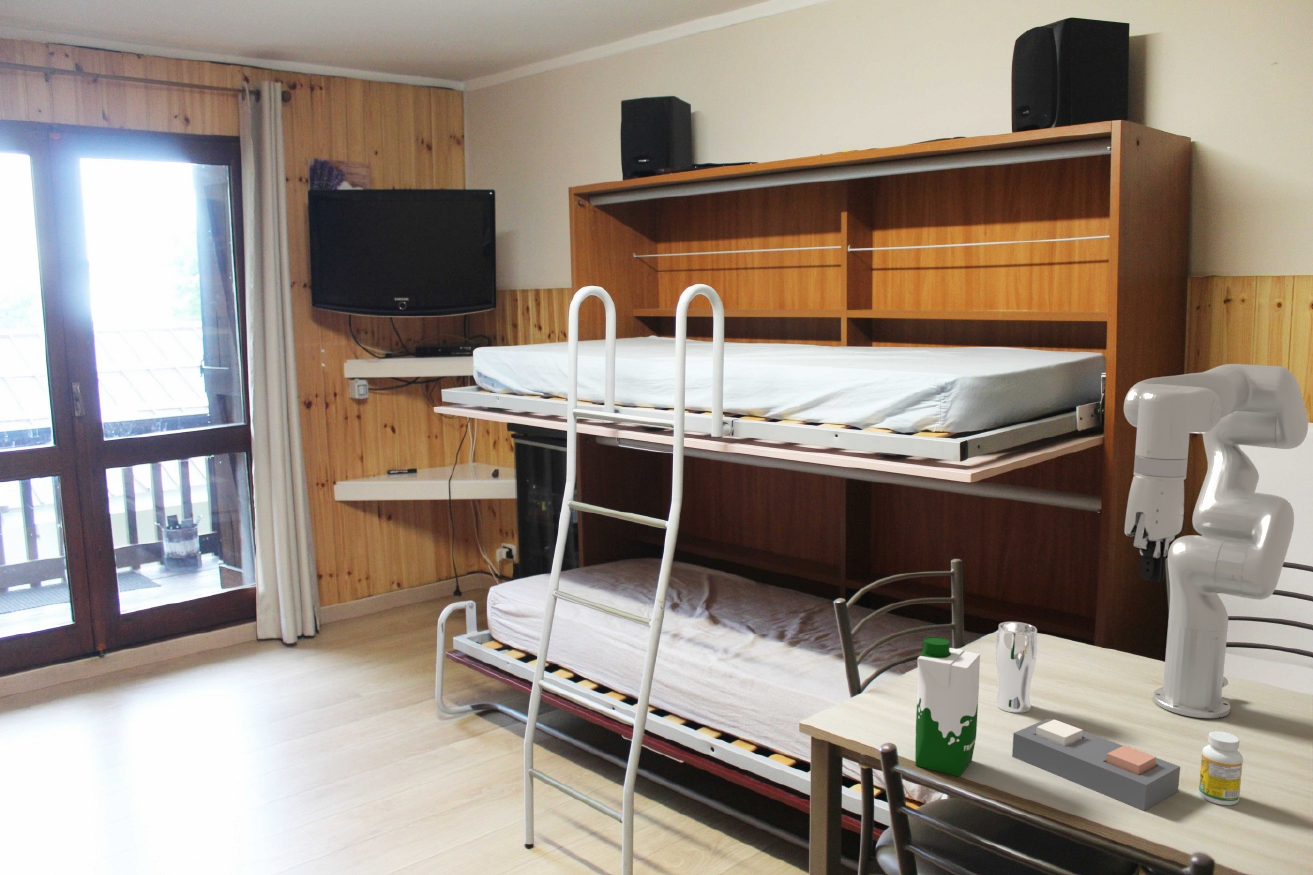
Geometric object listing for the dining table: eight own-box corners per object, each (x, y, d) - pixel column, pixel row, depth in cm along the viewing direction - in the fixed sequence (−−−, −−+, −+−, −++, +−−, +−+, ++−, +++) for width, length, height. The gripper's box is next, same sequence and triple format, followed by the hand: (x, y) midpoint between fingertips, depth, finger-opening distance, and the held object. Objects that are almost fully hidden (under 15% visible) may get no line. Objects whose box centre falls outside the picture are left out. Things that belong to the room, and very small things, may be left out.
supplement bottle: (1234, 810, 150) (1240, 748, 149) (1194, 798, 154) (1199, 737, 153) (1242, 796, 155) (1248, 736, 153) (1203, 785, 158) (1208, 726, 157)
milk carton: (924, 746, 171) (930, 630, 168) (980, 759, 166) (986, 640, 163) (907, 766, 163) (913, 645, 161) (964, 781, 159) (971, 656, 156)
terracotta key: (1122, 766, 160) (1124, 745, 160) (1154, 778, 156) (1156, 756, 156) (1105, 775, 157) (1107, 753, 157) (1137, 787, 153) (1139, 765, 153)
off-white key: (1052, 739, 170) (1054, 719, 169) (1081, 750, 166) (1082, 729, 165) (1035, 747, 167) (1036, 726, 166) (1063, 758, 163) (1065, 737, 162)
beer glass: (1027, 700, 191) (1032, 621, 189) (1037, 715, 184) (1042, 634, 182) (989, 698, 191) (993, 620, 189) (997, 713, 185) (1002, 632, 182)
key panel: (1047, 740, 173) (1048, 718, 173) (1178, 791, 156) (1180, 766, 155) (1012, 756, 167) (1013, 732, 167) (1144, 810, 150) (1146, 785, 149)
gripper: (1160, 460, 171) (1152, 567, 173) (1112, 468, 162) (1104, 582, 164) (1207, 466, 165) (1197, 577, 167) (1159, 475, 156) (1150, 593, 159)
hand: (1151, 579), depth 166 cm, fingers closed
